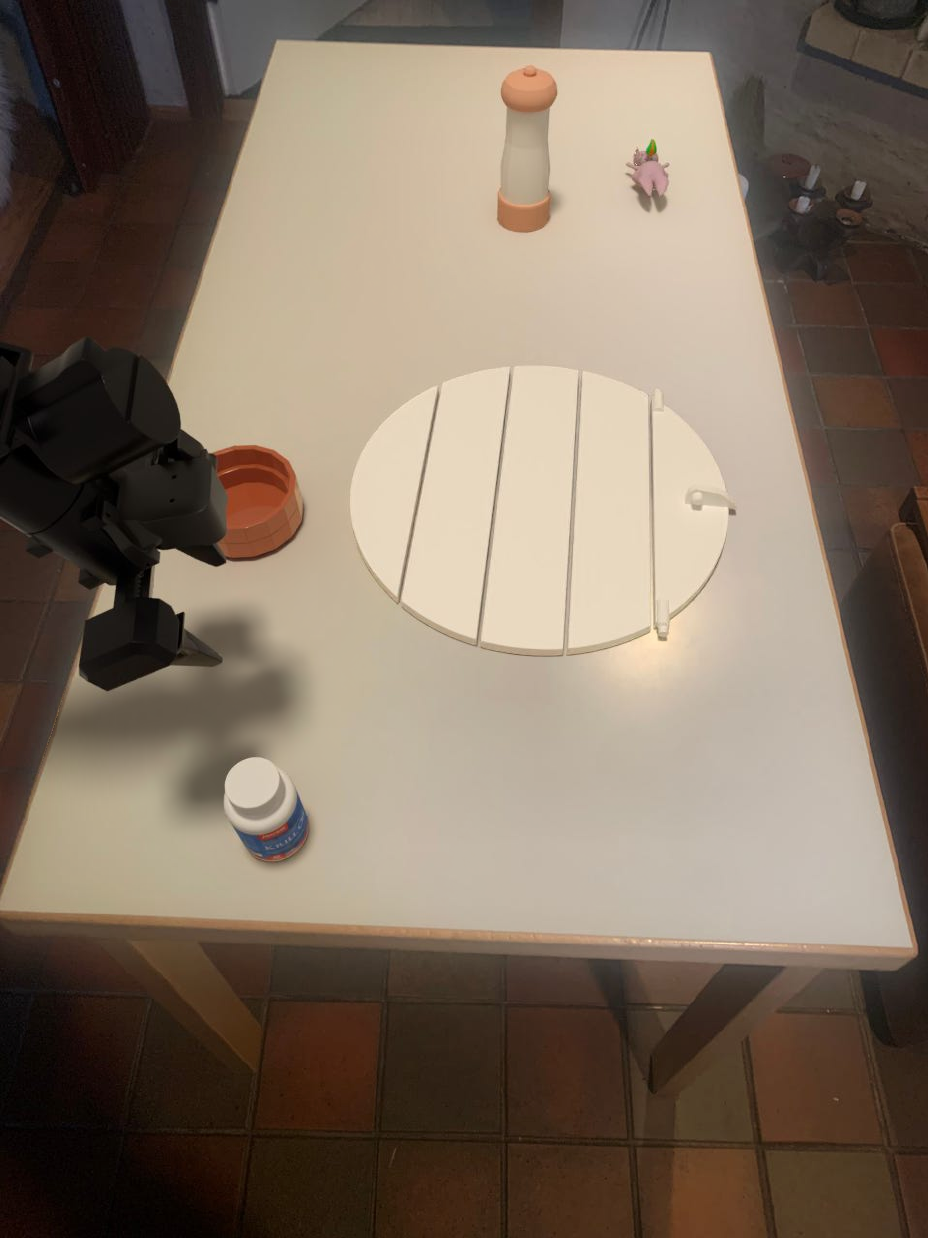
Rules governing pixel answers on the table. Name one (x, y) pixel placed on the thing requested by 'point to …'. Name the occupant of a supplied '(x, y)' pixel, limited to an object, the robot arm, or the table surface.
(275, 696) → the table surface
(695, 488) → the round slatted board
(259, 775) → the pill bottle
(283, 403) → the table surface
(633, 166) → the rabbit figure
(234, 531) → the bowl
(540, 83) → the salt shaker
